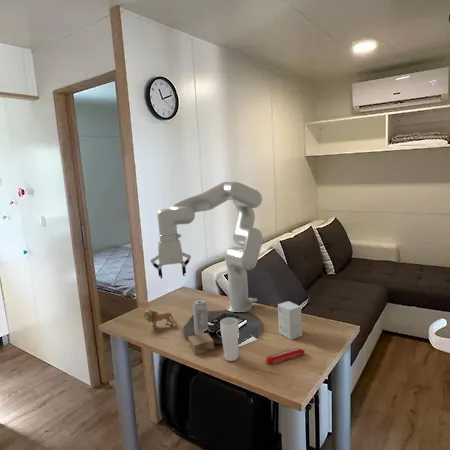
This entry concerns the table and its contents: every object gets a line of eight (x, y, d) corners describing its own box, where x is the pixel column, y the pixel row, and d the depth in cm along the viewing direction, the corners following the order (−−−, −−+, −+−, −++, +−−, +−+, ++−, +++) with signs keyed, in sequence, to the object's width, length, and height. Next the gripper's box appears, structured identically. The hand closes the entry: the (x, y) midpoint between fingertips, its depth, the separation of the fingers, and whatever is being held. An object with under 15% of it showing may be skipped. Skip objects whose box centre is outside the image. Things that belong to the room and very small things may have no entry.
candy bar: (300, 351, 140) (300, 344, 140) (306, 356, 137) (306, 348, 136) (263, 362, 134) (263, 355, 134) (268, 367, 131) (268, 360, 130)
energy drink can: (206, 329, 163) (203, 298, 160) (210, 335, 157) (208, 302, 154) (193, 332, 161) (190, 300, 158) (197, 338, 155) (194, 305, 152)
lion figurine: (145, 331, 165) (143, 313, 163) (144, 327, 170) (142, 308, 168) (177, 325, 169) (176, 307, 167) (175, 321, 174) (174, 303, 172)
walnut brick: (207, 341, 152) (206, 332, 152) (214, 349, 145) (213, 340, 144) (189, 345, 149) (188, 336, 149) (195, 354, 142) (194, 345, 141)
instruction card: (244, 332, 158) (244, 331, 158) (257, 339, 151) (257, 339, 151) (221, 340, 152) (221, 340, 152) (233, 349, 144) (233, 348, 144)
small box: (302, 335, 152) (301, 306, 149) (290, 340, 149) (289, 310, 146) (289, 328, 159) (289, 300, 156) (278, 332, 156) (277, 304, 153)
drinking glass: (218, 358, 138) (216, 321, 136) (231, 351, 143) (229, 315, 140) (231, 365, 134) (229, 326, 131) (244, 357, 138) (241, 320, 136)
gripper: (188, 234, 160) (191, 271, 163) (148, 238, 157) (152, 276, 160) (189, 237, 153) (193, 276, 156) (147, 241, 150) (152, 281, 153)
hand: (172, 276), depth 158 cm, fingers open, 9 cm apart
